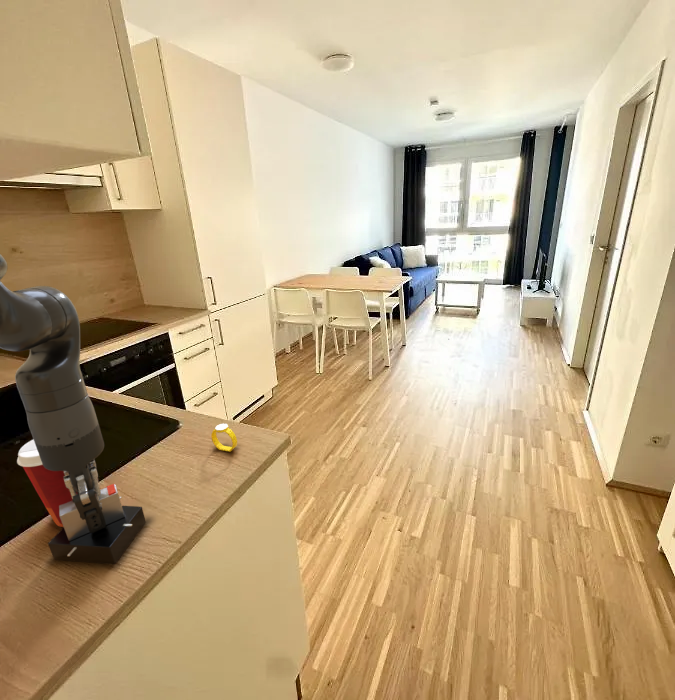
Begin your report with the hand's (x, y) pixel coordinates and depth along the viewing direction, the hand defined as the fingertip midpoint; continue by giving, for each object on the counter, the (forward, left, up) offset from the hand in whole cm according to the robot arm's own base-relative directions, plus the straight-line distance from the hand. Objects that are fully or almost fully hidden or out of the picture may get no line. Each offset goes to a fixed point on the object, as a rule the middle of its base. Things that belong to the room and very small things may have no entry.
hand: (96, 521), depth 57 cm
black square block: (0, 0, -4) cm, 4 cm away
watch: (+11, +25, -4) cm, 28 cm away
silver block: (0, 0, 0) cm, 0 cm away
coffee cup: (-9, +5, -4) cm, 11 cm away
